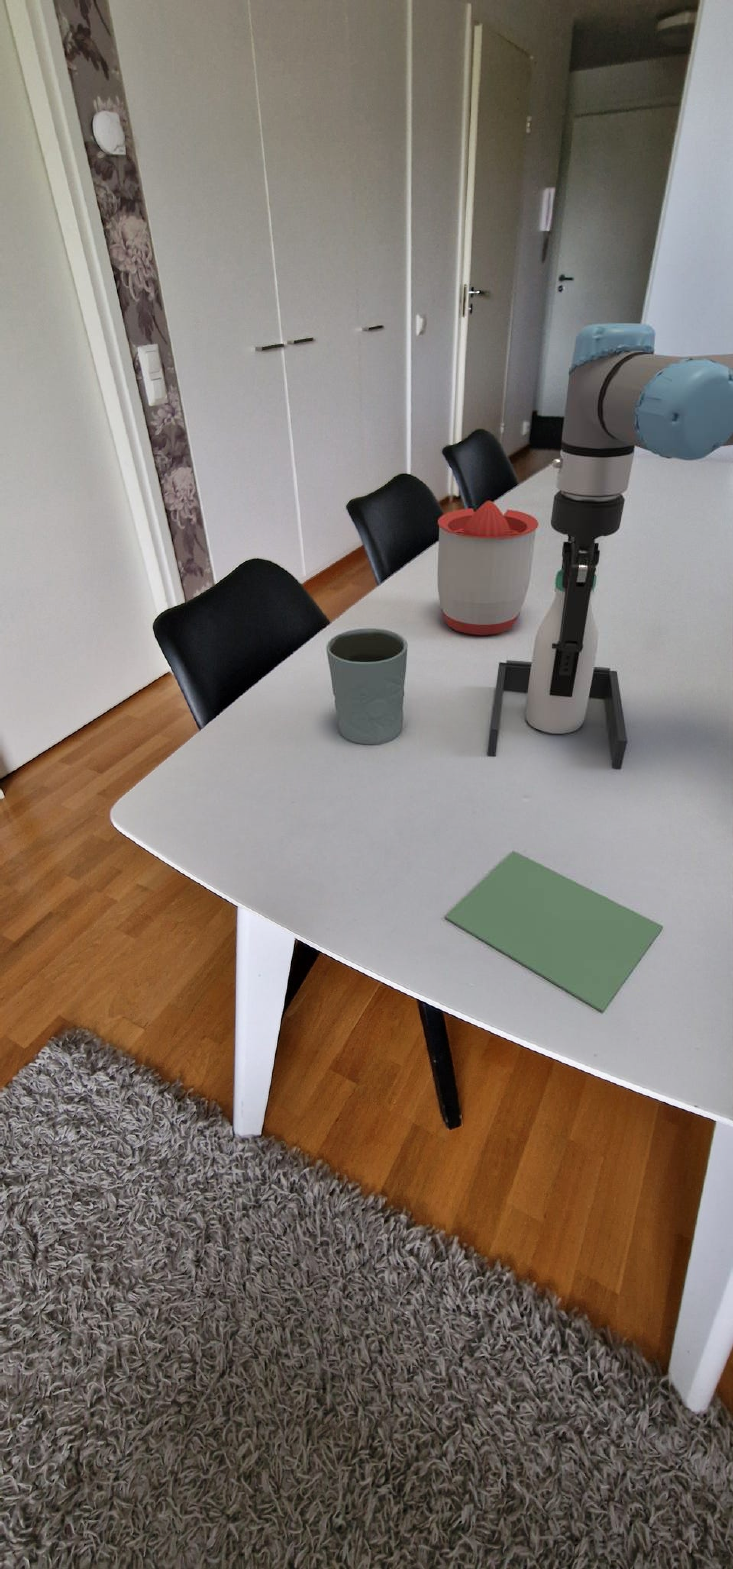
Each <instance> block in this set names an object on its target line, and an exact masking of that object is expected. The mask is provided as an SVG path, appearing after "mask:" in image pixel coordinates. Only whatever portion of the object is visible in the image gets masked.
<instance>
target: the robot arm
mask: <svg viewBox="0 0 733 1569" xmlns="http://www.w3.org/2000/svg"><path fill="white" fill-rule="evenodd" d="M655 331H656V330H655V329H654V328H653V326H651V325H649V324H645V323H633V322H632V323H631V322H630V323H629V322H621V323H619V322H618V323H616V322H615V323H614V322H613V323H595V324H589V325H586V326H584V327H582V328H581V329H580V330H579V331H578V333H577V335H576V338H575V342H574V343H575V344H574V349H573V354H572V359H571V360H572V361H571V365H570V367H569V369H568V382H567V392H566V399H565V400H566V401H565V407H564V408H565V409H564V417H563V426H562V433H561V445H560V452H559V453H560V454H559V455H560V457H559V458H554V459H553V461H552V467H553V468H554V469H558V471H557V475H556V476H557V477H556V488H557V489H558V490H559V491H557V492H556V493H555V494H554V496H553V501H552V510H551V518H550V525H551V528H552V529H553V530H554V531H555V532H557V533H559V534H562V535H565V536H567V541H563V542H562V550H561V557H562V560H561V567H560V568H561V569H560V570H562V569H563V577H562V587H563V588H564V589H565V597H564V605H563V613H562V621H561V629H560V637H559V641H558V643H552V649H556V652H555V659H554V666H553V672H552V679H551V686H550V692H549V695H551V696H563V697H572V694H573V688H574V682H575V676H576V671H577V665H578V659H579V653H580V652H581V651H582V649H583V638H584V631H585V625H586V619H587V612H588V606H589V599H590V593H591V588H592V587H593V582H594V575H595V574H596V572H597V566H598V564H599V562H600V556H601V555H600V553H601V550H600V549H599V546H600V545H599V542H596V539H599V538H601V537H609V536H611V535H614V534H615V533H617V532H618V531H619V529H620V527H621V522H622V517H623V512H624V507H625V500H626V499H625V498H624V495H623V494H624V493H625V492H627V490H628V488H629V483H630V479H631V472H632V467H633V462H634V458H635V447H636V448H640V449H643V450H645V451H648V452H651V453H652V454H654V455H658V456H659V457H661V458H665V459H668V460H669V459H677V460H682V461H696V460H700V459H701V460H702V459H704V458H706V457H707V456H709V455H710V454H713V452H714V451H716V450H718V449H719V448H721V447H727V446H728V447H729V446H733V353H727V354H725V353H724V354H711V355H710V354H709V355H693V356H673V355H664V354H663V355H662V354H655V350H656V349H655V340H656V332H655ZM568 577H569V581H568V579H567V578H568Z"/></svg>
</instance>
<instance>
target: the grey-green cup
mask: <svg viewBox="0 0 733 1569" xmlns="http://www.w3.org/2000/svg"><path fill="white" fill-rule="evenodd" d="M408 647H409V645H408V642H407V640H406V639H405V638H404V636H402V635H401V634H399V633H397V632H395V631H391V630H388V629H382V628H370V627H369V628H367V627H366V628H356V629H350V630H347V631H344V632H340V633H338V634H336V635H335V636H333V637H331V638H330V640H329V641H328V642H327V644H326V655H327V661H328V668H329V672H330V680H331V687H332V693H333V696H334V706H335V707H334V708H335V712H336V720H337V727H338V732H339V734H340V736H341V737H343V739H344V740H345V739H346V741H348V742H352V743H355V744H360V745H369V746H370V745H380V744H384V743H385V744H386V743H388V742H391V741H392V740H394V739H396V738H397V737H398V736H399V735H401V734H400V733H401V732H402V730H403V723H404V698H405V682H406V673H407V662H408V661H407V659H408Z"/></svg>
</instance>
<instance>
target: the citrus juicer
mask: <svg viewBox="0 0 733 1569" xmlns="http://www.w3.org/2000/svg"><path fill="white" fill-rule="evenodd" d="M437 525H438V528H439V529H438V550H437V575H436V576H437V592H438V600H439V603H440V607H441V613H442V617H443V618H444V621H445V623H446V625H447V626H448V627H449V628H451V629H453V630H454V631H455V632H461V633H464V634H468V635H475V636H476V635H477V636H488V635H500V634H503V633H504V632H506V631H509V630H511V628H513V627H514V625H515V623H516V622H517V620H518V618H519V616H520V614H521V610H522V608H523V605H524V602H525V600H526V597H527V593H528V590H529V585H530V580H531V573H532V565H533V557H534V550H535V541H536V533H537V532H536V531H537V529H538V528H539V521H538V520H537V519H536V517H534V516H533V515H531V514H528V513H526V512H522V511H519V510H513V509H506V511H505V512H504V514H503V513H502V511H501V510H500V508H499V507H498V506H497V504H495V503H494V502H493V501H491V500H486V501H485V502H484V503H482V505H481V506H479V507H478V509H476V510H475V511H474V509H473V508H462V509H457V510H453V511H449V512H447V513H444V514H442V515H441V516H439V518H438V519H437Z"/></svg>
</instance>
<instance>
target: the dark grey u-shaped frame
mask: <svg viewBox="0 0 733 1569" xmlns="http://www.w3.org/2000/svg"><path fill="white" fill-rule="evenodd" d="M531 664H532V661H526V660H525V661H523V660H509V659H507V660H506V662H502V661H499V662H498V668H497V674H496V675H497V676H496V683H495V689H494V698H493V704H492V713H491V720H490V725H489V726H490V727H489V735H488V736H489V737H488V744H487V746H488V747H487V756H489V757H496V755H497V747H498V739H499V730H500V723H501V714H502V705H503V698H504V692H512V693H513V692H515V693H524V694H525V693H526V694H528V686H529V678H530V671H531ZM588 699H599V700H604V707H605V715H606V725H607V733H608V734H607V735H608V742H609V751H610V759H611V760H610V761H611V768H612V769H615V770H616V769H617V770H621V769H622V766H623V762H624V758H625V753H626V750H627V745H628V736H627V731H626V729H627V728H626V722H625V717H624V711H623V710H624V708H623V704H622V697H621V690H620V684H619V677H618V671H617V670H611V668H610V667H606V666H605V667H604V666H603V667H602V666H594V670H593V676H592V682H591V687H590V693H589V698H588Z"/></svg>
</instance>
